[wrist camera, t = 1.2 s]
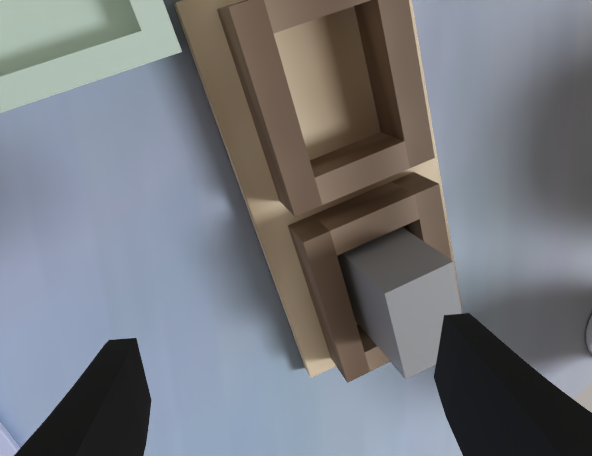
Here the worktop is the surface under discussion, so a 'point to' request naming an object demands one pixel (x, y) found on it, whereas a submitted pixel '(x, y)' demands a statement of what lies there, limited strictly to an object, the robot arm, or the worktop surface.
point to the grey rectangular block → (401, 296)
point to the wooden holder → (322, 146)
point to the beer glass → (589, 335)
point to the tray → (76, 44)
